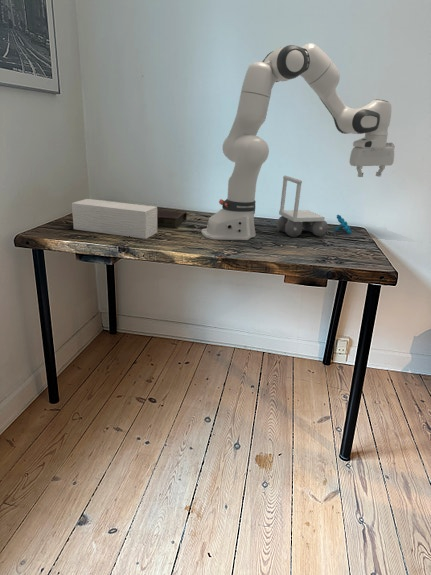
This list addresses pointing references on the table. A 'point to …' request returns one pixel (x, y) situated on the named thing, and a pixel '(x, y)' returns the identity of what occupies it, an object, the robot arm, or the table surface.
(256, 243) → the table surface
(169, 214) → the diary
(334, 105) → the robot arm
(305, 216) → the trolley
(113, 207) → the long white foam block
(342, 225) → the blue bumpy piece
